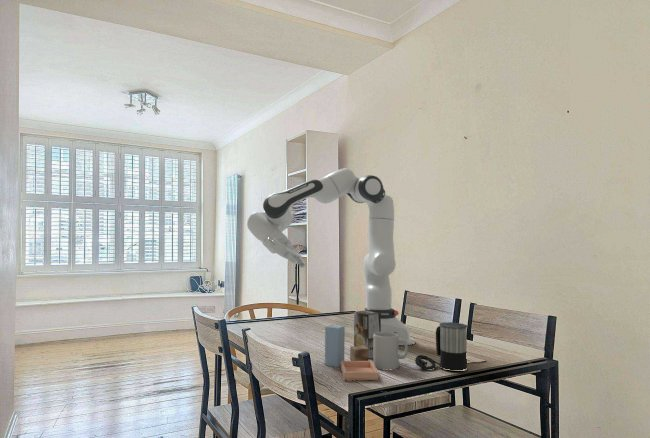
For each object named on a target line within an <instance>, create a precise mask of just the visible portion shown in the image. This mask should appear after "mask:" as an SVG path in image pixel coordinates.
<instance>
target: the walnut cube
mask: <svg viewBox="0 0 650 438" xmlns="http://www.w3.org/2000/svg"><path fill="white" fill-rule="evenodd" d="M349 348H350V349H349V351H350V355H349V356H350V357H349V359H350V360H349V361H369V358H368V355H369V349H368V348H366V347H365V346H354V345H352V346H350V347H349Z"/></svg>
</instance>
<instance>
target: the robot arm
mask: <svg viewBox="0 0 650 438" xmlns="http://www.w3.org/2000/svg"><path fill="white" fill-rule="evenodd" d="M345 195H347V196H348V197H349V198H350V199H351V200H352V201H353V202H355V203H357V204H364V203H366V204H367V206H368V209H369V213H368V226H367V227H368V228H367V240H368V253H366V255H365V256H364V258H363V274H364V275H363V276H364V284H365V285H364V286H365V308H364V311H371V312H376V313H381V332H390V333H395V334H398V338H400V339H404V340H406V342H407V345H408V346H410V345H412V344H413V345H415V343H416V341H415V339H414V338H413V337H411V336H410V330H409V328H408V326H407V325H406V324H405V323H403V321H401V320H399V318H397V316H398V315H399V313H400V312H399V311H398V310H396V309H393V308H392V287H391V282H390V275H391V274H393V272H394V271H395V269H396V267H397V266H396V259H395V246H394V245H395V244H394V229H395V227H394V226H395V206H394V205H395V204H394V200H393V197H391V195H388V194H386V190H385V188H384V185H383V182H382V180H381V179H380V178H379V177H378V176H376V175H373V174H372V175H371V174H370V175H364V176H361V177H357V176H356V174H355V173H354V172H353V170H351V169H350V168H349V167H344V168H339V169H337V170H335V171H332V172H330V173H329V174H327V175H325V176H322V177H321V178H318V179H310V180H307V181H305V182H303V183H300V184H298V185H295V186H293V187H291V188H289V189H286V190H283V191H279V192H274V193H271V194H269V195H268V196H267V197H266V198H265V199H264V201H263V204H262V208H263V210H264V211H254V212H253V213H252V214H250V216H249V217H248V219H247V224H246V225H247V228H248V231H249V232H250V233H251V234H252V235H253V236H254V237H255V238H256V239H257V240H258V241H259V242H261V243H262V245H263V246H264V247H265V249H267V250H268V251H269V252H270V253H271V254H277V255H278V256H280V257H282V258H284V259H286V260H288V261H290V262H291V264H293V265H299V267H300V268H302V269H304V268H305V267H306V264H305V262H304V261H303V260H302V259H303V256H302V255H301V253H300V252H299V251H298V250H297V249H296V248H295V247H294V246H293V244H292V242H291V241H290V240H289V238H288V236H287V235H286V234H284V233H283V231H285V230H286V229H288V228H289V227H290V226H291V224H292V223H293V222H292V221H293V215H292V212H291V207H292V206H293V205H294V204H297V203H300V202H301V201H304V200H306V199H308V198H313V199H315V200H316V201H317V202H319V203H321V204H330V203H332V202H334V201H336V200H338V199H340V198H341V197H343V196H345ZM398 346H405V345H404V344H403V343H400V344H398Z"/></svg>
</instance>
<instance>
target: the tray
mask: <svg viewBox="0 0 650 438" xmlns="http://www.w3.org/2000/svg"><path fill="white" fill-rule="evenodd" d="M340 372H341V376H342V381H344V380H347V381H346V382H356V381H355V380H358V381H357V382H360V381H359V380H378V381H379V370H378V369H376V367H375V365H374V364H373V360H368V361H351V360H344V361H341V366H340ZM352 380H353V381H352Z"/></svg>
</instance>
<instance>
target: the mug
mask: <svg viewBox="0 0 650 438" xmlns="http://www.w3.org/2000/svg"><path fill="white" fill-rule="evenodd" d="M400 343H403V344H404V345H403V346H404V352H403V353H402V354H401V353H399V345H398V344H400ZM408 352H409V345H407V342H406V340H404V339H400V338H398V334H395V333H390V332H378V333H374V335H373V358H372V362H373V364H374V365H375V367H376V368H377V370H379V369H385V370H384V371H390V370H389V369H395V370H397V369H398V368H399V360H403V359H406V358H407V356H408V354H409V353H408ZM396 368H397V369H396ZM386 369H388V370H386Z"/></svg>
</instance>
